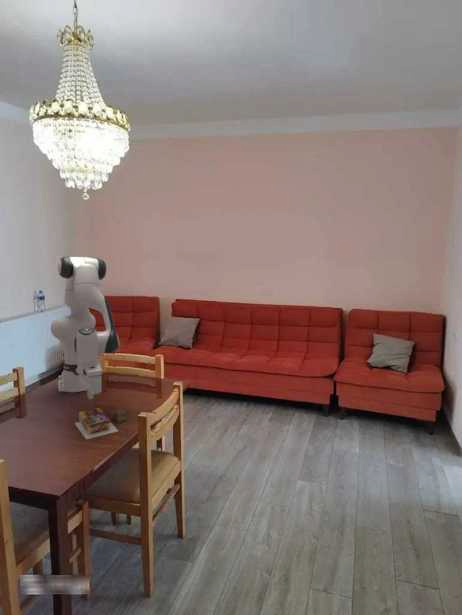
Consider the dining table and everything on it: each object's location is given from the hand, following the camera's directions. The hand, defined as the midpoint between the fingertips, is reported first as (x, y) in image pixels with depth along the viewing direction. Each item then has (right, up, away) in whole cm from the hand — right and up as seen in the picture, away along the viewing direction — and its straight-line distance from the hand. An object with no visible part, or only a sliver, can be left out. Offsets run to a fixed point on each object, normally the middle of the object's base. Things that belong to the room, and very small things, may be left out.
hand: (90, 397), depth 183 cm
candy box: (-2, -8, +4) cm, 9 cm away
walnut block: (+11, -10, +4) cm, 16 cm away
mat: (+4, -12, -4) cm, 13 cm away
